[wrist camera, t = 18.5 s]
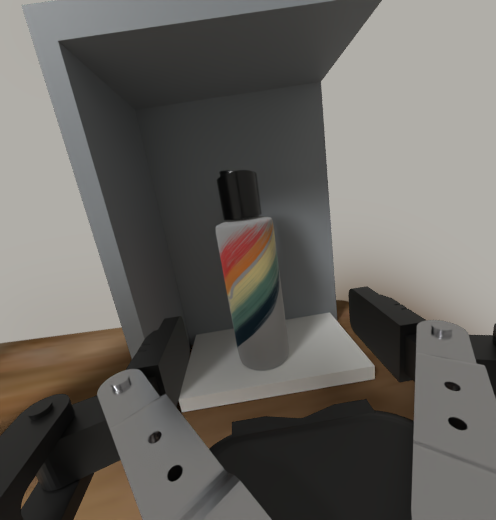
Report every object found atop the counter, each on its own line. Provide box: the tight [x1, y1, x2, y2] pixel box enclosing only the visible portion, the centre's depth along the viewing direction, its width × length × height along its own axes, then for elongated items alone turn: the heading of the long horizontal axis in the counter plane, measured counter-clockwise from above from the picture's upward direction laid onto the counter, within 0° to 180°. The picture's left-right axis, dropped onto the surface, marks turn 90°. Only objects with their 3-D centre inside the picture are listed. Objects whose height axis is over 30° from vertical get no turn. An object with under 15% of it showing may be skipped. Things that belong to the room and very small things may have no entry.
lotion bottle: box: [216, 170, 289, 371], centre depth 26 cm, size 6×6×20 cm
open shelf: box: [22, 0, 382, 359], centre depth 26 cm, size 22×14×32 cm, turn 93°
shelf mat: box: [179, 312, 375, 412], centre depth 29 cm, size 19×12×2 cm, turn 93°
